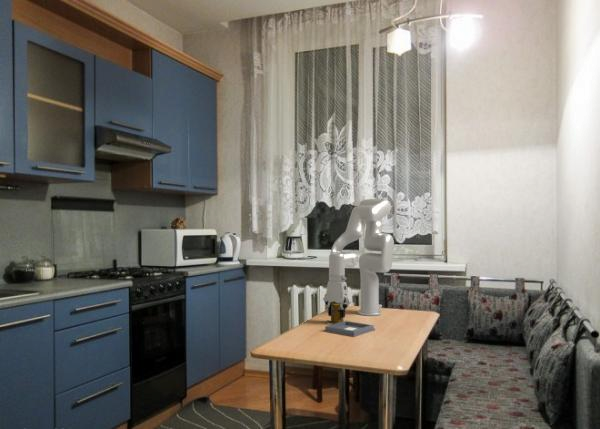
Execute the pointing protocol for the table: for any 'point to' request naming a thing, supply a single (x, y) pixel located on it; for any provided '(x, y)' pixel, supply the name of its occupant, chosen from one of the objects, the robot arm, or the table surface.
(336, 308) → the condiment
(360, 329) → the dock
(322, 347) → the table surface
